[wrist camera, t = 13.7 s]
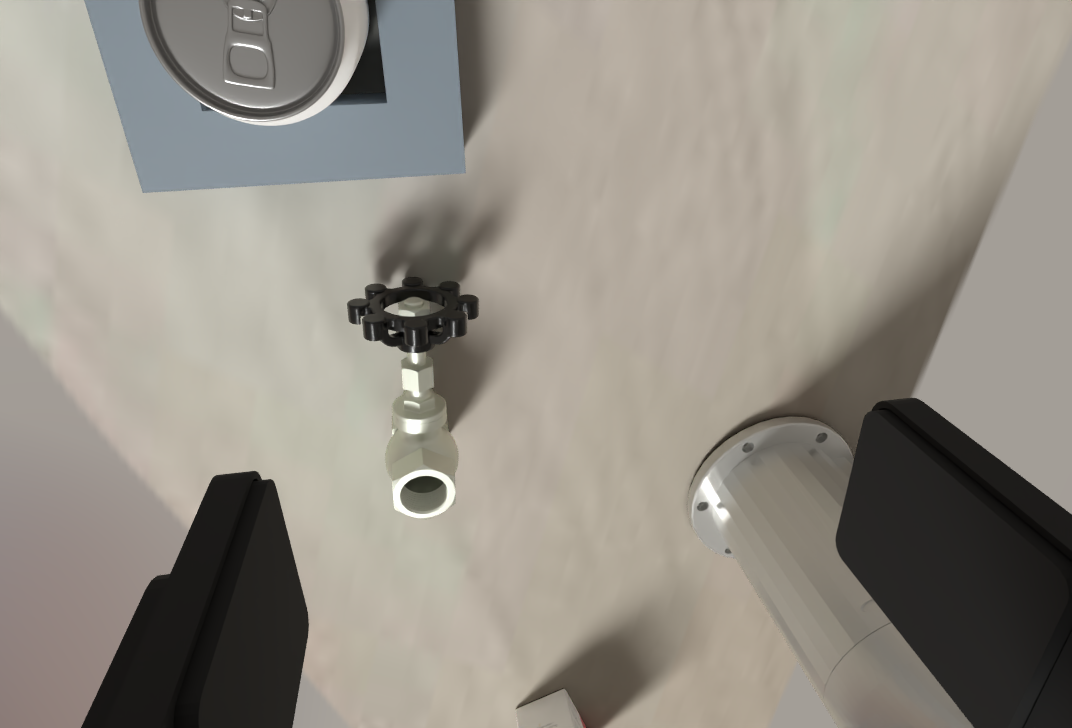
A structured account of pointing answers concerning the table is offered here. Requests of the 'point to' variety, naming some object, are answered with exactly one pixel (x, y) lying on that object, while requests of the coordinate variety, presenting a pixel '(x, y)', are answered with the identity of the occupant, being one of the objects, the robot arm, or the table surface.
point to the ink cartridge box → (550, 713)
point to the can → (259, 53)
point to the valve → (417, 388)
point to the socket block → (303, 147)
